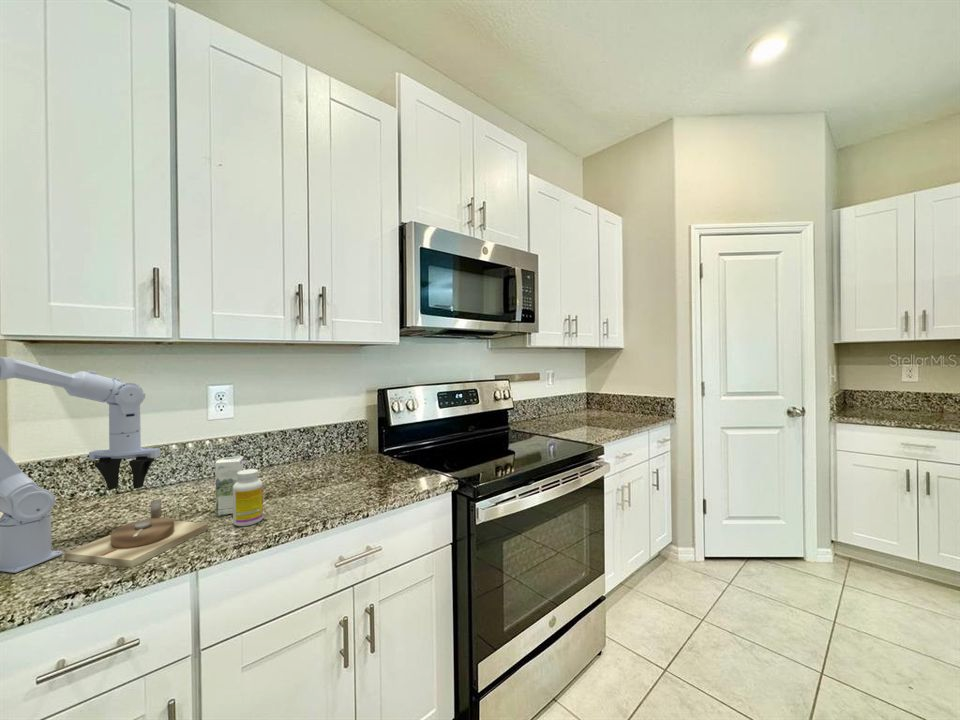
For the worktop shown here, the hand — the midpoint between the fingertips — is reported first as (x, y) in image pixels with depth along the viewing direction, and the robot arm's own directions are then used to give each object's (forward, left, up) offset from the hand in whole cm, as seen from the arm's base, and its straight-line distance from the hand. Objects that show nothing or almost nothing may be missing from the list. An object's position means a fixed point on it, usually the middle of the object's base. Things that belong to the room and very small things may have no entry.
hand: (125, 488), depth 98 cm
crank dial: (+10, -3, -9) cm, 14 cm away
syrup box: (+15, +15, -11) cm, 24 cm away
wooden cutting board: (+11, -5, -10) cm, 16 cm away
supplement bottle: (+25, +10, -11) cm, 29 cm away
